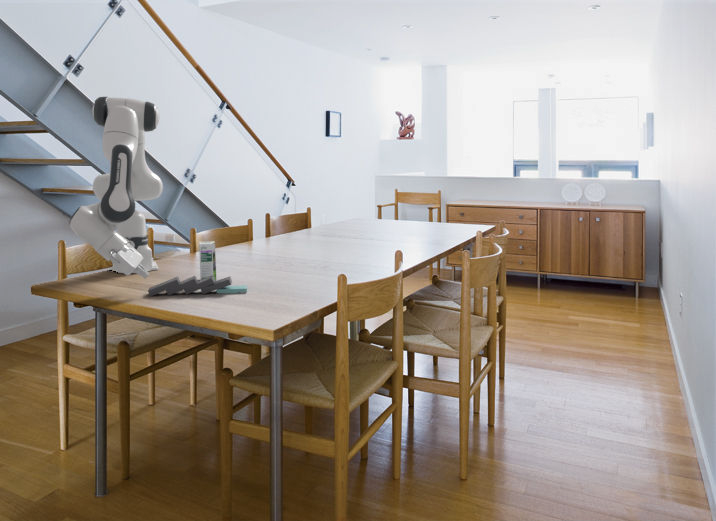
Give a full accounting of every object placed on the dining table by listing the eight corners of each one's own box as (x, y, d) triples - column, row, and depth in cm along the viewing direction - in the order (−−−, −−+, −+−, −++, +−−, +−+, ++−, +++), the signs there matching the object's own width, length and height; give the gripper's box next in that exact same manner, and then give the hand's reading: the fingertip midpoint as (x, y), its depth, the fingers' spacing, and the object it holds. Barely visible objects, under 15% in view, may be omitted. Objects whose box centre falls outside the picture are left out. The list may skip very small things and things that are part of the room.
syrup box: (200, 282, 212) (199, 243, 209) (200, 278, 217) (198, 241, 215) (216, 281, 213) (215, 243, 211) (215, 278, 219) (214, 240, 216)
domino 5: (216, 289, 194) (246, 288, 196) (217, 286, 199) (246, 285, 201) (216, 295, 195) (246, 294, 196) (217, 291, 199) (246, 290, 201)
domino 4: (200, 288, 193) (229, 279, 194) (202, 285, 198) (230, 276, 199) (202, 294, 193) (231, 284, 194) (204, 290, 198) (232, 281, 199)
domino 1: (147, 291, 189) (176, 279, 191) (149, 287, 194) (177, 276, 196) (150, 296, 190) (179, 284, 191) (152, 293, 195) (180, 281, 196)
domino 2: (165, 290, 191) (194, 278, 192) (167, 287, 195) (195, 275, 197) (168, 295, 191) (196, 284, 193) (169, 292, 196) (197, 280, 197)
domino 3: (183, 289, 192) (211, 278, 193) (185, 286, 197) (213, 275, 198) (186, 294, 193) (214, 283, 193) (188, 291, 197) (215, 280, 198)
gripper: (115, 245, 177) (150, 275, 181) (126, 236, 197) (157, 263, 201) (100, 260, 177) (136, 290, 181) (113, 250, 197) (144, 276, 200)
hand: (147, 276), depth 191 cm, fingers closed
